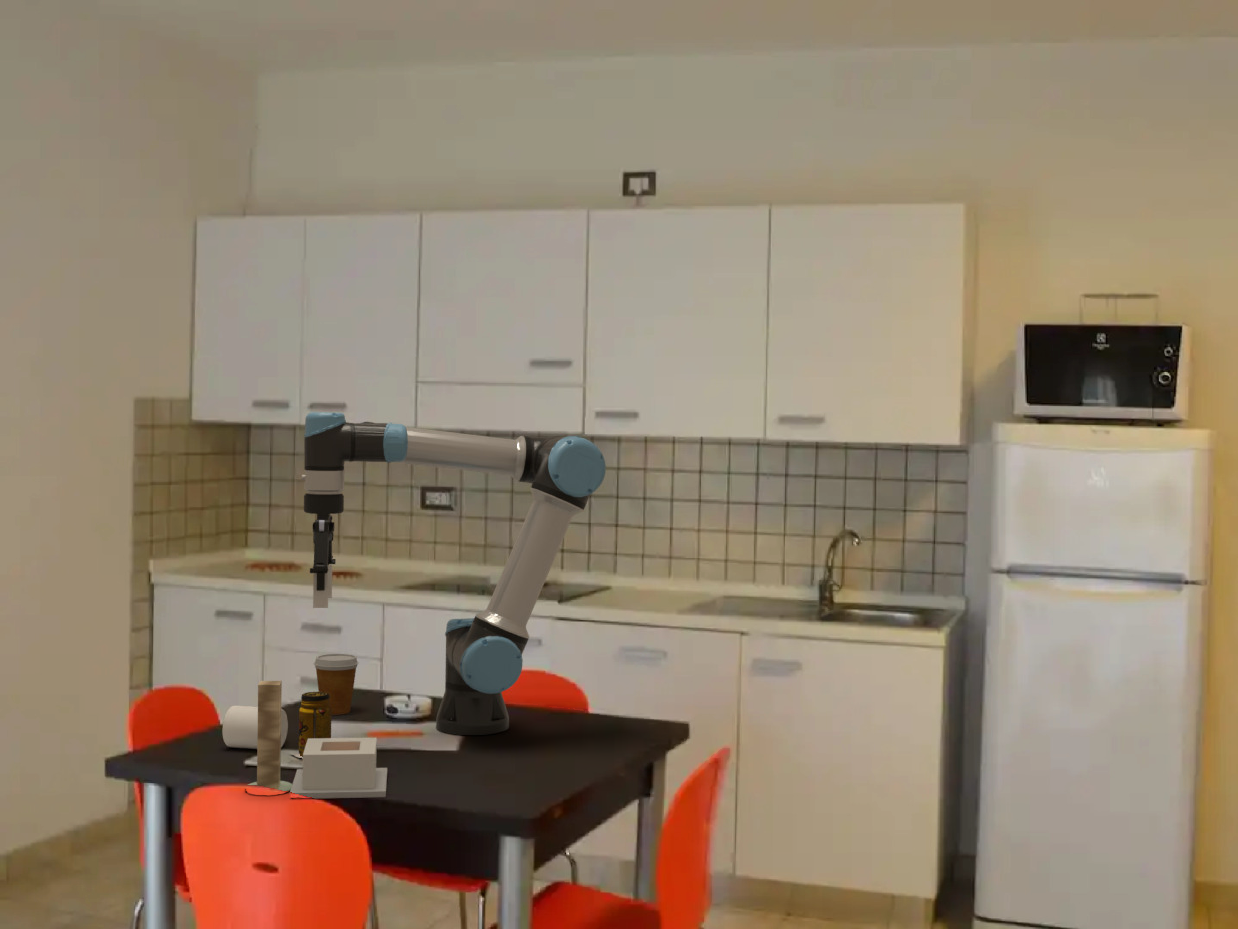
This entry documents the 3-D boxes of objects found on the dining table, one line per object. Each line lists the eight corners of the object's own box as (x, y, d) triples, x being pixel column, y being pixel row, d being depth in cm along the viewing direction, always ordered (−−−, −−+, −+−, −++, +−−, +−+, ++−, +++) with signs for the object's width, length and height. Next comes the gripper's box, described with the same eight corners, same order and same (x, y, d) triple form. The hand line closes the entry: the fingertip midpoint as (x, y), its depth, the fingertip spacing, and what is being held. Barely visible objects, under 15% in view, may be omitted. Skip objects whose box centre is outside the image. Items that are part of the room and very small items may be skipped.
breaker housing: (387, 773, 256) (387, 735, 256) (385, 797, 240) (386, 756, 240) (297, 774, 254) (297, 736, 253) (289, 799, 238) (290, 757, 238)
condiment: (289, 755, 268) (290, 693, 267) (328, 749, 274) (329, 687, 273) (309, 763, 262) (310, 699, 262) (348, 756, 268) (349, 693, 268)
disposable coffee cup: (364, 709, 310) (365, 655, 310) (346, 718, 301) (347, 662, 300) (324, 706, 312) (325, 652, 312) (305, 715, 303) (306, 659, 303)
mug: (269, 755, 268) (270, 713, 268) (221, 751, 270) (222, 710, 270) (296, 740, 280) (297, 701, 280) (250, 737, 282) (250, 697, 282)
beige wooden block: (280, 783, 245) (281, 680, 245) (278, 789, 242) (279, 684, 241) (259, 783, 245) (260, 681, 244) (256, 789, 241) (258, 685, 240)
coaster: (294, 783, 248) (294, 780, 248) (290, 795, 240) (290, 792, 240) (247, 784, 247) (247, 780, 247) (242, 796, 239) (242, 793, 239)
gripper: (308, 488, 282) (307, 594, 283) (299, 496, 257) (297, 612, 258) (346, 489, 283) (345, 594, 284) (340, 496, 258) (339, 611, 259)
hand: (322, 603), depth 271 cm, fingers open, 13 cm apart
